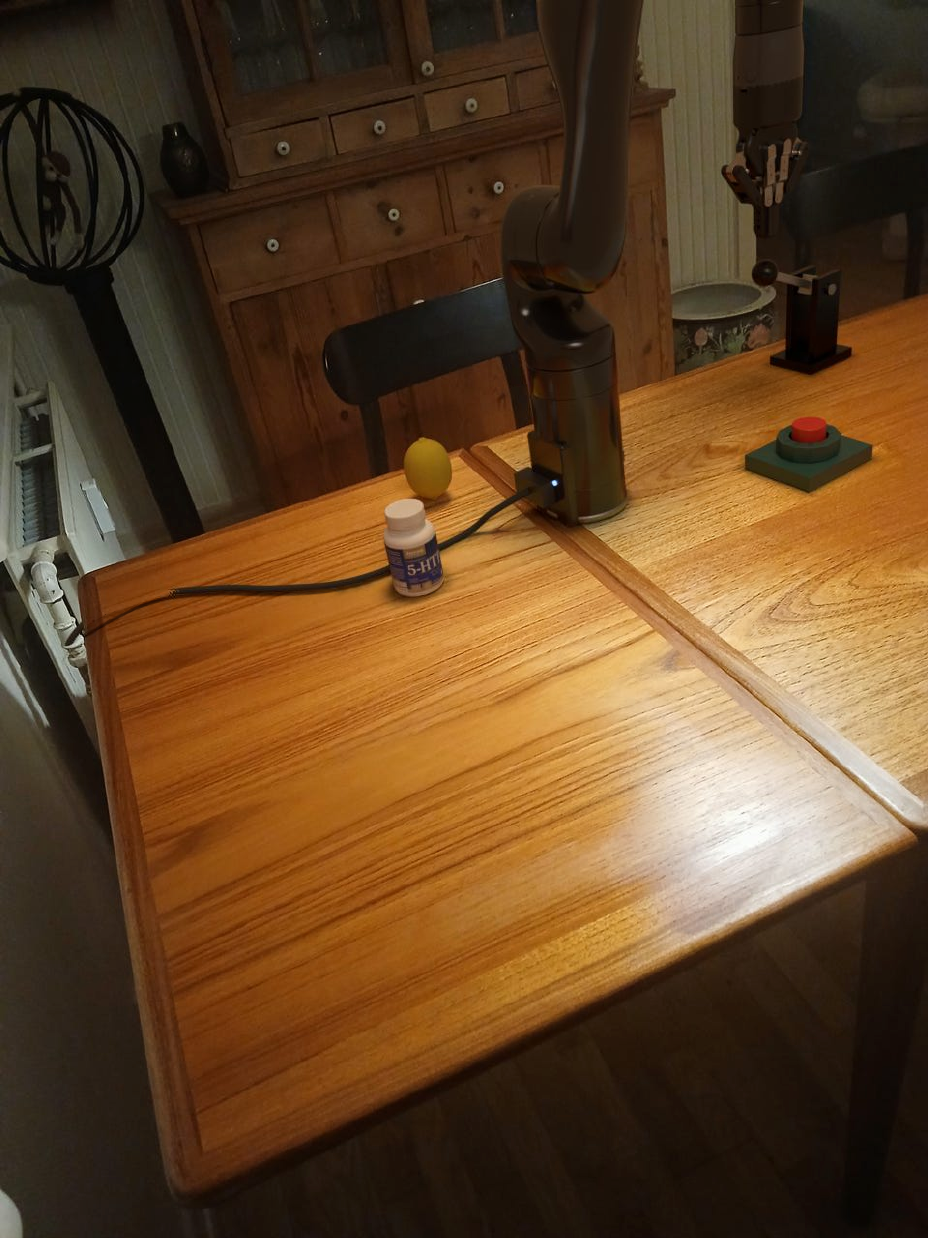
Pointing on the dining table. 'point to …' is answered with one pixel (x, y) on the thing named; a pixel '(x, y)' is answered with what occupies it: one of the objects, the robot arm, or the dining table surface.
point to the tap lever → (780, 277)
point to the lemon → (427, 468)
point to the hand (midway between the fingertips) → (765, 236)
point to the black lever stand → (812, 325)
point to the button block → (808, 458)
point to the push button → (808, 430)
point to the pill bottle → (412, 549)
